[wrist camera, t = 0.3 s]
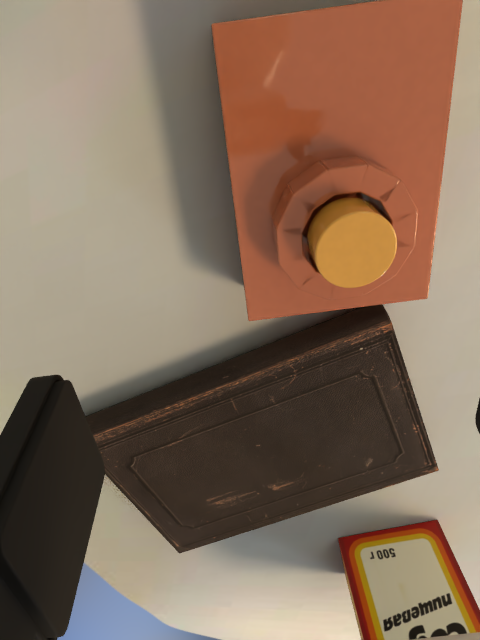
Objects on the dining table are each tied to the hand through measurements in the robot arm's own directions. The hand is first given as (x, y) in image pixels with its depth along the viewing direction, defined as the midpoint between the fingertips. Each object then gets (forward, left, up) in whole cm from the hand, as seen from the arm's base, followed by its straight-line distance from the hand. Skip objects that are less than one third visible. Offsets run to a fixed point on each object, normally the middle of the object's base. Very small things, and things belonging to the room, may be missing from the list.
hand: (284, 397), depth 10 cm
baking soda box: (+38, +10, -18) cm, 43 cm away
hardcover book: (+20, -1, -18) cm, 27 cm away
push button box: (0, +4, -18) cm, 18 cm away
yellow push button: (+2, +4, -12) cm, 13 cm away
